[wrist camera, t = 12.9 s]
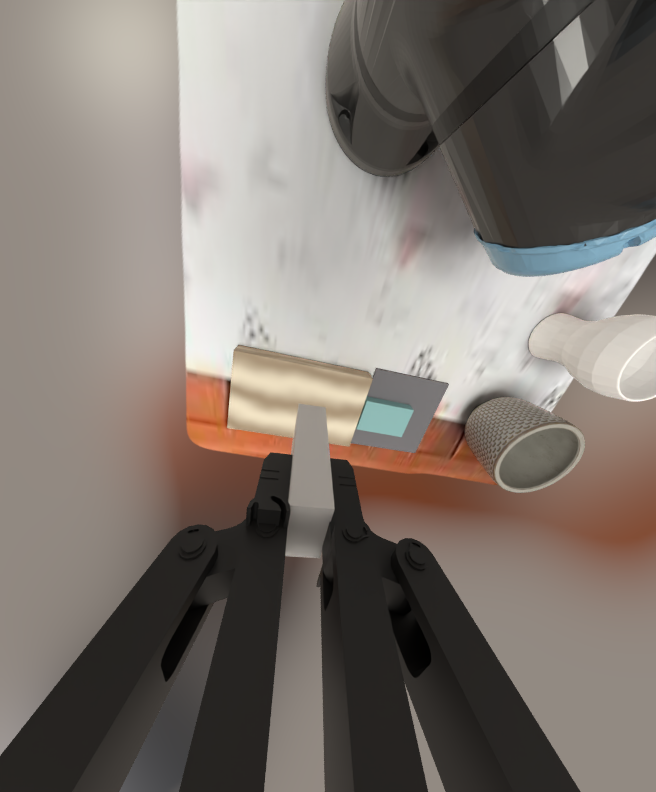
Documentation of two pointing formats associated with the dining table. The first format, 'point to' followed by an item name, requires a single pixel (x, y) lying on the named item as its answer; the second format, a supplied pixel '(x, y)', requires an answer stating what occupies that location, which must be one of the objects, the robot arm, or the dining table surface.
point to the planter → (522, 443)
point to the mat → (407, 391)
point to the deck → (293, 393)
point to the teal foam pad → (384, 417)
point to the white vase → (602, 352)
